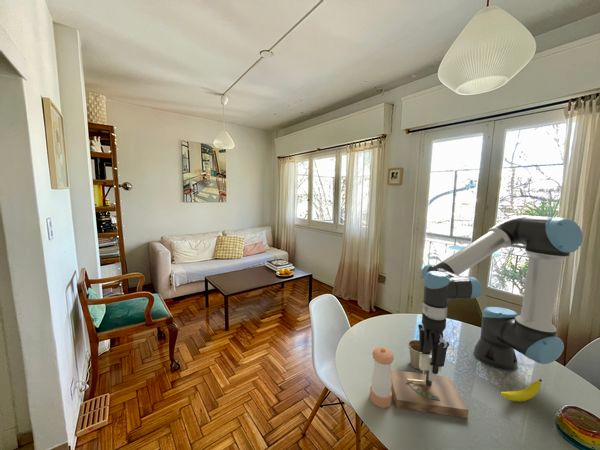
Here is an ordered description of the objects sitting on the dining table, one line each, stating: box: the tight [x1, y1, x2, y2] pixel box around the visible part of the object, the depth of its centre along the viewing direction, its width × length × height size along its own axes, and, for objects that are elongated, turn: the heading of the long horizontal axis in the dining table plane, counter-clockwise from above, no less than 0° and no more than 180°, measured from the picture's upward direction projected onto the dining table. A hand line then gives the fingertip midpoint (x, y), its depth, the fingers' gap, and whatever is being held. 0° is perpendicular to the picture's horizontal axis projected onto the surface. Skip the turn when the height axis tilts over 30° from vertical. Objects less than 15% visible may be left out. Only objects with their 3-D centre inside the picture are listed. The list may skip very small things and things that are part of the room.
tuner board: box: [391, 369, 469, 419], centre depth 89 cm, size 22×15×3 cm
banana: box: [500, 378, 543, 403], centre depth 87 cm, size 3×19×6 cm, turn 104°
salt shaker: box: [369, 346, 395, 409], centre depth 86 cm, size 7×7×19 cm
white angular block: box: [407, 354, 442, 386], centre depth 90 cm, size 11×2×11 cm, turn 83°
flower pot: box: [407, 339, 423, 370], centre depth 105 cm, size 9×9×9 cm
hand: (429, 376), depth 90 cm, fingers closed on white angular block, 3 cm apart
